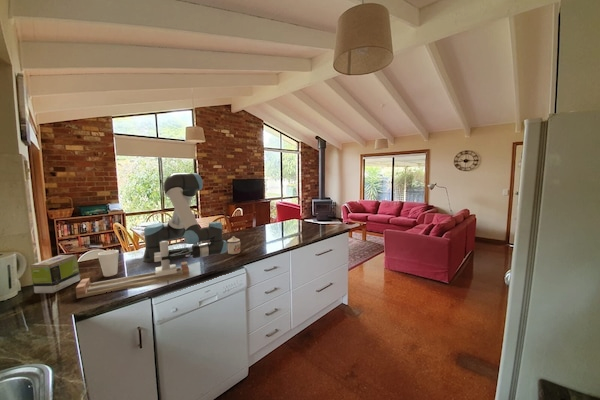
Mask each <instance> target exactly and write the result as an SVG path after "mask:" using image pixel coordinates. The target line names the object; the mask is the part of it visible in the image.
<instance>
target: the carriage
mask: <svg viewBox="0 0 600 400" xmlns="http://www.w3.org/2000/svg"><path fill="white" fill-rule="evenodd" d="M169 250H170V248H169V241H161V242H160V253H161V256H162V255H168V254H169ZM170 262H171V261H170V260H169V259H168V260H164V261H160V263H161V265H160V266H157V267H156V266H155V271H154V272H155V274H156V277H158V276H163V275H169V274H174V273H177V269H176V268H177V265H176V263H173V264H171V263H170Z"/></svg>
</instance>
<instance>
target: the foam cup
mask: <svg viewBox="0 0 600 400" xmlns="http://www.w3.org/2000/svg"><path fill="white" fill-rule="evenodd" d="M119 251H120V250H119V249H111V250H110V249H109V250H104V251H100V252H98V253H97V258H98V261H99V264H100V267H101V271H102V275H103V277H105V278H106V277H112V276H115V275H117V274H118V269H119V268H118V267H119V255H120V252H119Z"/></svg>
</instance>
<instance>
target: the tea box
mask: <svg viewBox="0 0 600 400" xmlns="http://www.w3.org/2000/svg"><path fill="white" fill-rule="evenodd" d="M29 268H30V273H31V277H32V286H33V292H34V293H35V294H54V293H56V292H58V291H60V290H62V289H65V288H67V287H69V286H71V285H73V284H74V283H77V282H79V281H81V276H80V275H81V274H80V270H79V269H80V268H79V262H78V256H77V254H63V255H62V254H59V255H55V256H53V257H50V258H47V259H44V260H41V261H39V262H35V263H33V264H30V267H29Z"/></svg>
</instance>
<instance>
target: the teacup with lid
mask: <svg viewBox="0 0 600 400" xmlns="http://www.w3.org/2000/svg"><path fill="white" fill-rule="evenodd" d="M226 242H227V247H228V248H227V253H228V255H237V254H240V253H241V240H240V238H237V237H235V236H232V237H230V238H229V239H227V241H226Z"/></svg>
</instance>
